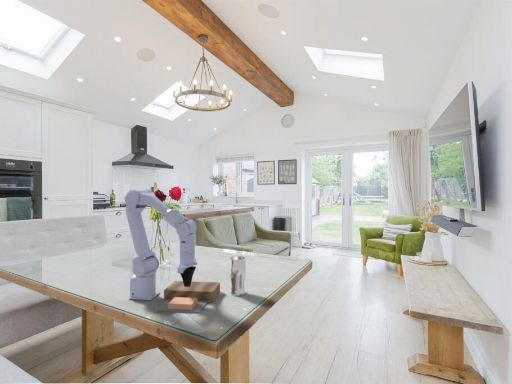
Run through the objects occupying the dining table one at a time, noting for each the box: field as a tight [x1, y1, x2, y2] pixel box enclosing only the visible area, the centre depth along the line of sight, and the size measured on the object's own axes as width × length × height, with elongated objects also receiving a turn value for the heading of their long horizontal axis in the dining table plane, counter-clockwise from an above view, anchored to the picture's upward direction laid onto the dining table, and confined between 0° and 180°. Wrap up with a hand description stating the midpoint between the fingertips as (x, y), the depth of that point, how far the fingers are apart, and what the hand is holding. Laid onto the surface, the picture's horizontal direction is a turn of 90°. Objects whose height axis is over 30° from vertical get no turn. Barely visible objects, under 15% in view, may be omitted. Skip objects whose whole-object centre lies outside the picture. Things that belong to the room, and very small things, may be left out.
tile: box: [168, 297, 197, 310], centre depth 103 cm, size 9×6×2 cm, turn 83°
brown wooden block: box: [163, 280, 221, 303], centre depth 114 cm, size 20×11×4 cm, turn 83°
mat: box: [156, 299, 209, 314], centre depth 104 cm, size 16×10×1 cm, turn 83°
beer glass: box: [228, 255, 247, 297], centre depth 117 cm, size 7×7×15 cm
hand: (187, 286), depth 108 cm, fingers closed
